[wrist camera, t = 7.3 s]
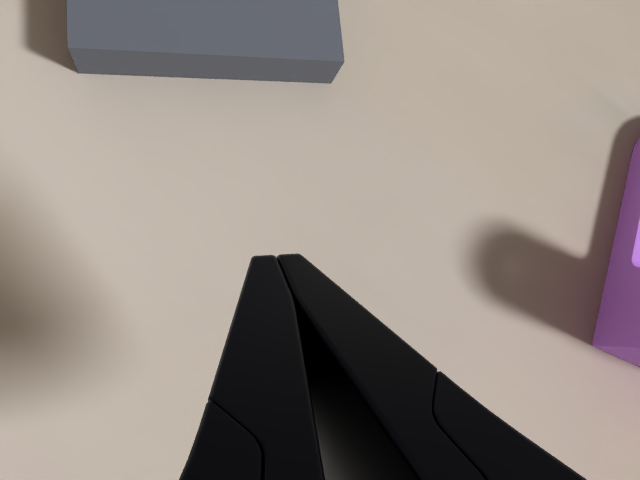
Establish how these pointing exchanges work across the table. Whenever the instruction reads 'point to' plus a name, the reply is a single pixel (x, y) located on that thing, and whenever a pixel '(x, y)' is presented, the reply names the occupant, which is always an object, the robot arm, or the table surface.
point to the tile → (207, 39)
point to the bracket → (623, 277)
